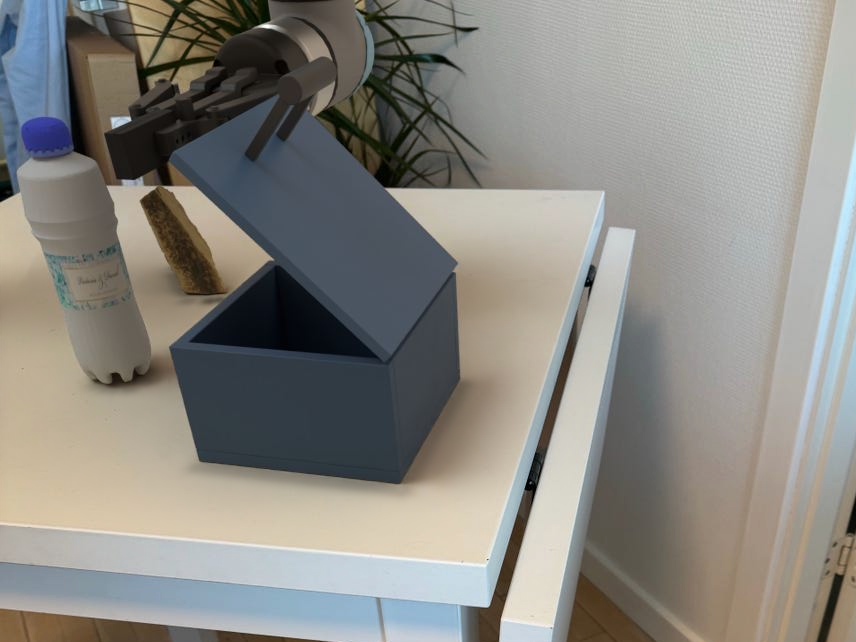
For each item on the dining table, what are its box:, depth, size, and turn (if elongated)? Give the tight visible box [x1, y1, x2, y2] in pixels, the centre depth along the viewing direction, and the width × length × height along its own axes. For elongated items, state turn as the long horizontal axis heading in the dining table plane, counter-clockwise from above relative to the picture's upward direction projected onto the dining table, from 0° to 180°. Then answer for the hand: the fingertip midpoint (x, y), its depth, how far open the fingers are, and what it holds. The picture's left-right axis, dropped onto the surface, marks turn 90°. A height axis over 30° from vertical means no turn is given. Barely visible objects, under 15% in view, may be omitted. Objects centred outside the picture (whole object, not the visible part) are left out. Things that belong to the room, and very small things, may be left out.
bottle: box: [16, 116, 152, 385], centre depth 73 cm, size 7×7×20 cm
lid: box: [168, 56, 459, 362], centre depth 60 cm, size 17×17×7 cm
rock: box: [139, 185, 228, 295], centre depth 95 cm, size 11×9×10 cm
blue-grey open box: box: [168, 259, 461, 485], centre depth 70 cm, size 16×17×9 cm
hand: (119, 156), depth 58 cm, fingers closed
